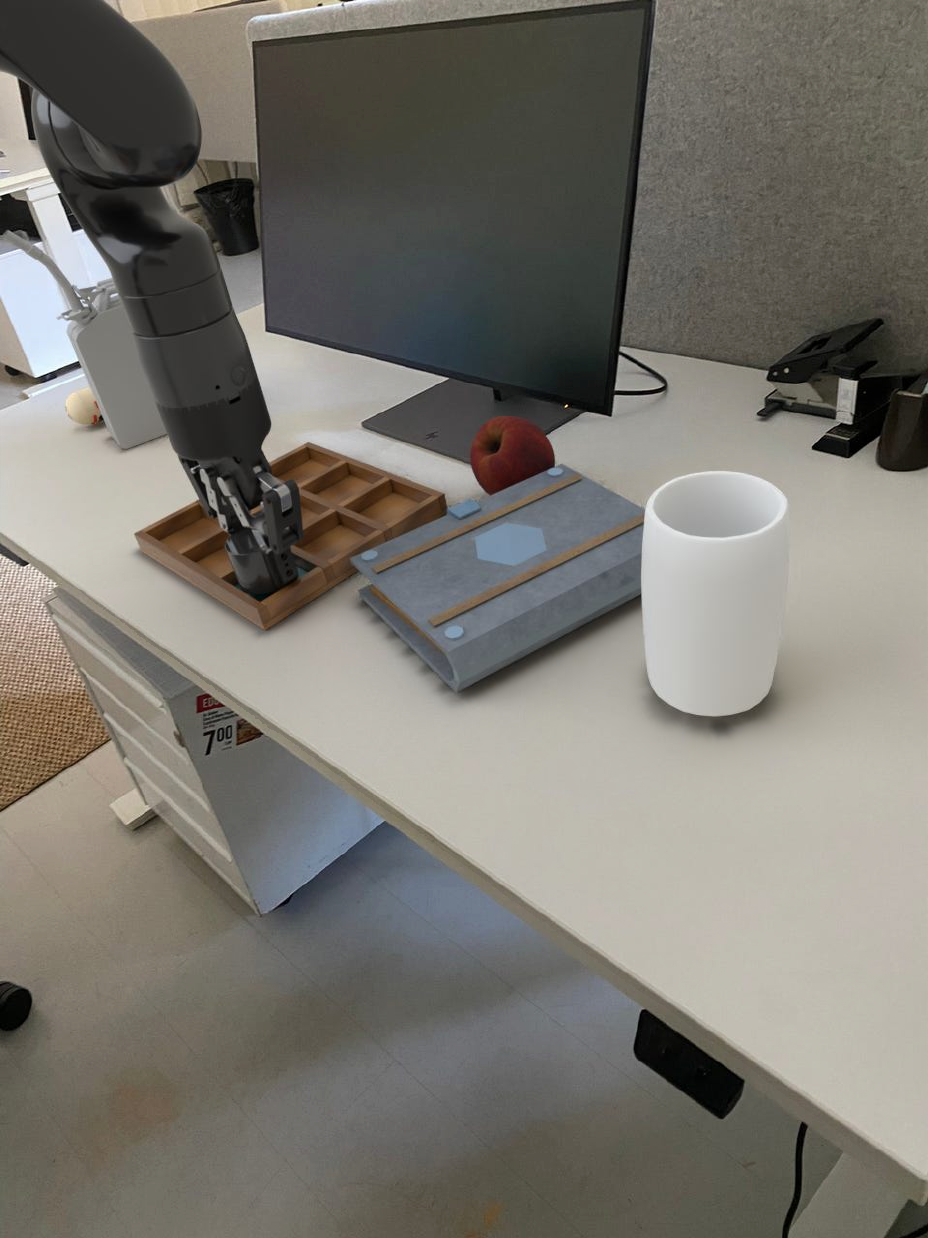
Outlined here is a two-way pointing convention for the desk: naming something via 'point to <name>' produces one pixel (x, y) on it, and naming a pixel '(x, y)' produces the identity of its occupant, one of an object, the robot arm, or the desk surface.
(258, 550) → the dark grey cylinder
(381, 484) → the board
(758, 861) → the desk surface
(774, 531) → the cup
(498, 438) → the apple
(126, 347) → the fuel canister
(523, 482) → the book
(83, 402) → the toy figurine
